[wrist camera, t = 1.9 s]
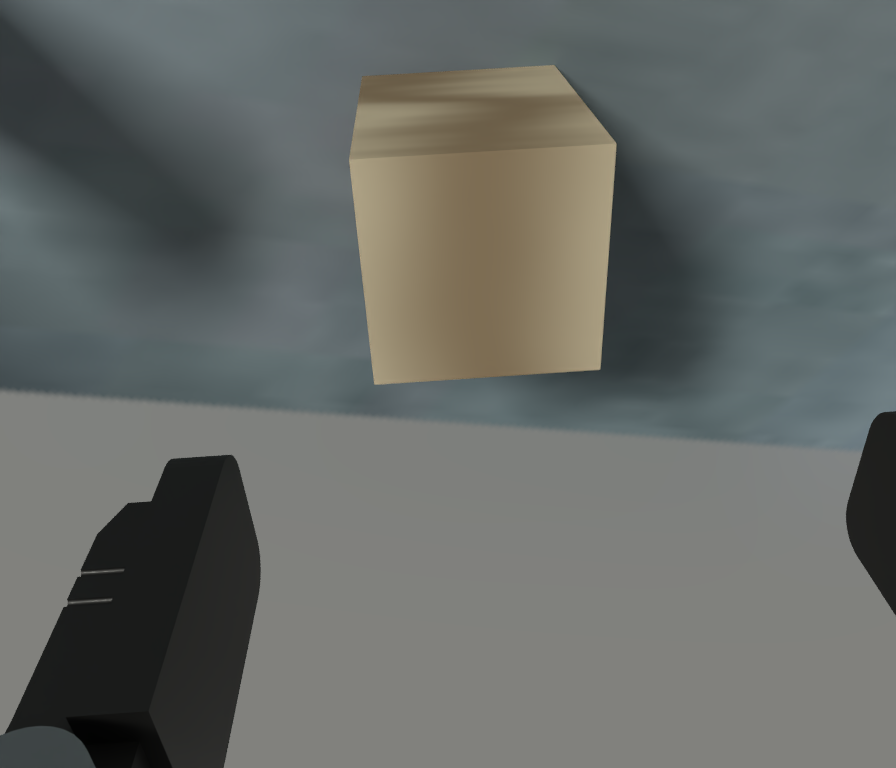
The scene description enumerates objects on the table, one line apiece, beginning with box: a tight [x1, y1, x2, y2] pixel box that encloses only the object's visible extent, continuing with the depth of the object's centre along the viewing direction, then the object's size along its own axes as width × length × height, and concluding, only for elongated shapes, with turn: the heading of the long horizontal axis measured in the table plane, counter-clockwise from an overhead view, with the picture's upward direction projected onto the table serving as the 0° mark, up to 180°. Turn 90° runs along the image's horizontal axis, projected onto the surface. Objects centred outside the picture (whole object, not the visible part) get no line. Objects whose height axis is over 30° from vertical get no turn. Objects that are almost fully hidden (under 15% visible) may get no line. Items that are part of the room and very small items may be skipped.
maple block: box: [349, 65, 617, 385], centre depth 19 cm, size 5×5×7 cm
